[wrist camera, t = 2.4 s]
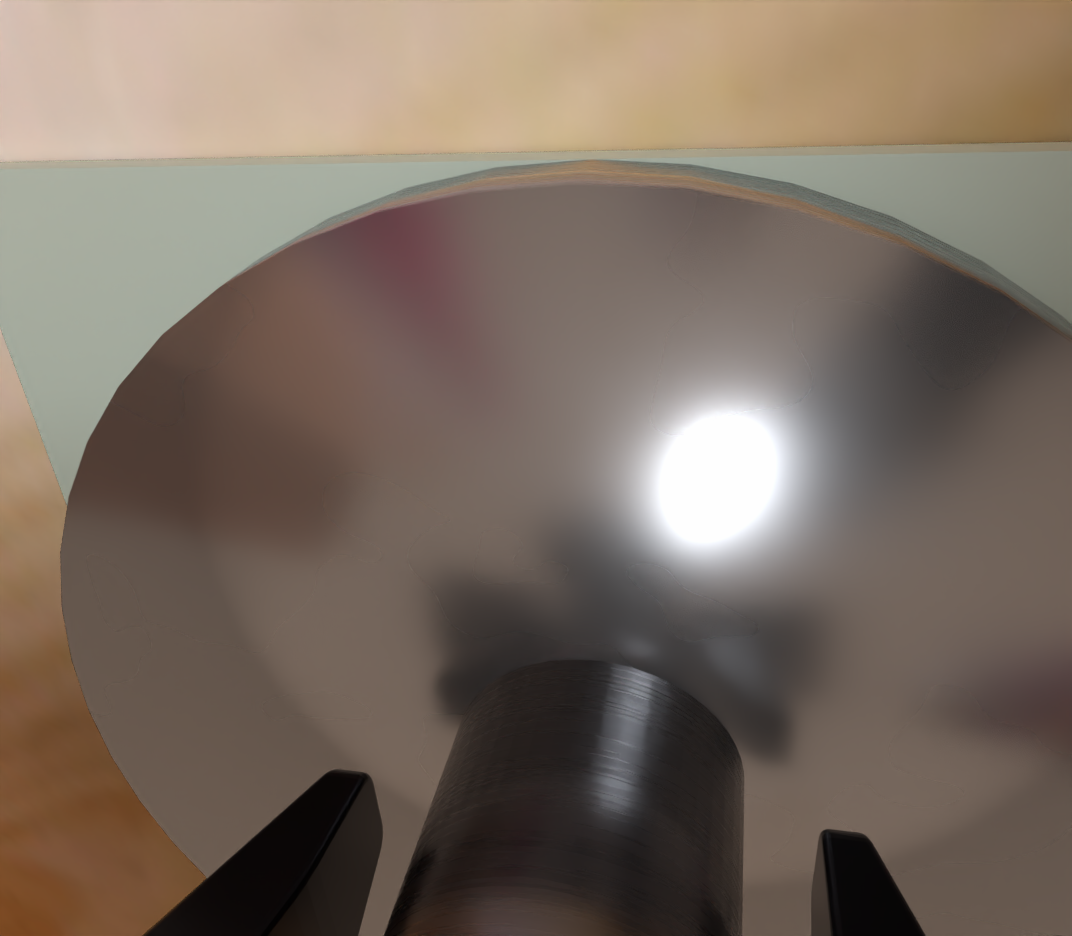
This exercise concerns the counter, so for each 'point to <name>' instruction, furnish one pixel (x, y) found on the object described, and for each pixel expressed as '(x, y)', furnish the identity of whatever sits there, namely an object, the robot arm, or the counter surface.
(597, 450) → the lid
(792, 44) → the counter surface
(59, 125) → the counter surface
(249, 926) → the robot arm
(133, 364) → the mat
